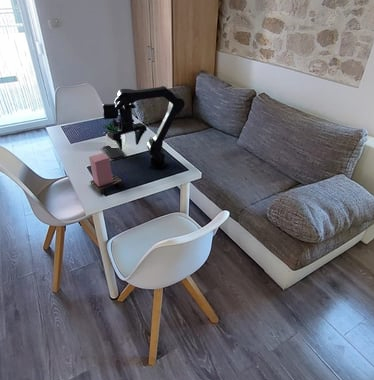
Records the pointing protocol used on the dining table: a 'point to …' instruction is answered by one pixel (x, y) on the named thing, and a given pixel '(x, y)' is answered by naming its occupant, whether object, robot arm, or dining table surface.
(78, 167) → the dining table surface
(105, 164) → the box
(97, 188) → the rack
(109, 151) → the phone
